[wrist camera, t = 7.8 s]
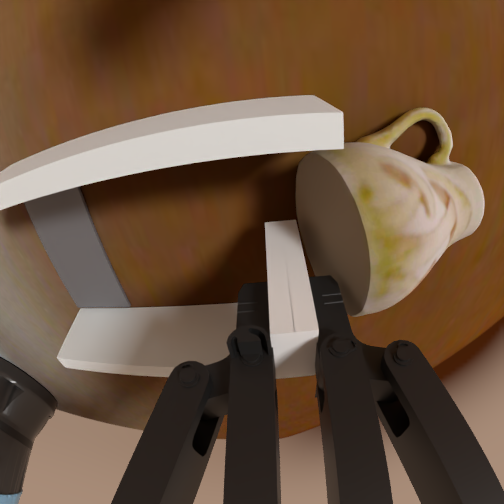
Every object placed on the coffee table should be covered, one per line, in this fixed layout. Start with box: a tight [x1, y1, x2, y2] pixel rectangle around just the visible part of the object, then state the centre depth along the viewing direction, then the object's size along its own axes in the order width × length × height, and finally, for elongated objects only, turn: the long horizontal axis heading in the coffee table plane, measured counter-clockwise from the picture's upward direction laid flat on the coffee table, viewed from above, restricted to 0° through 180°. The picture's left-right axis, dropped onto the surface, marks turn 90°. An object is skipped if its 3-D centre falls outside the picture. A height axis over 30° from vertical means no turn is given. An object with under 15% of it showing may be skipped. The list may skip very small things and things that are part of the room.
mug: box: [296, 107, 484, 317], centre depth 12 cm, size 8×10×10 cm
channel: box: [0, 95, 344, 377], centre depth 15 cm, size 18×14×5 cm
